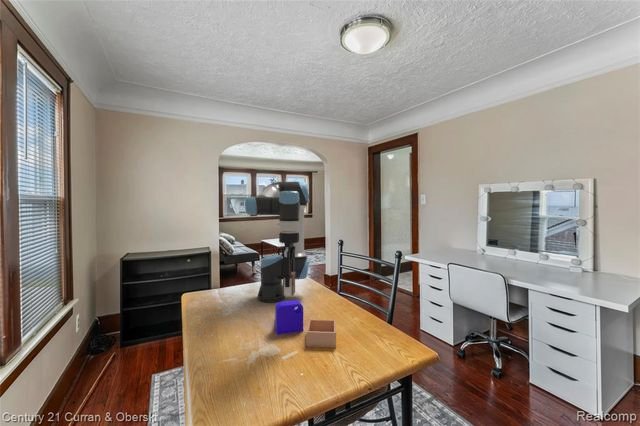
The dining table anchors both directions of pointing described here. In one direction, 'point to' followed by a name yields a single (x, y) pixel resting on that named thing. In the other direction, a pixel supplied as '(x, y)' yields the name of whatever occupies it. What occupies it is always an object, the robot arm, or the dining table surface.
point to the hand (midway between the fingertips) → (289, 292)
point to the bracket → (288, 317)
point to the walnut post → (292, 284)
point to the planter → (321, 333)
